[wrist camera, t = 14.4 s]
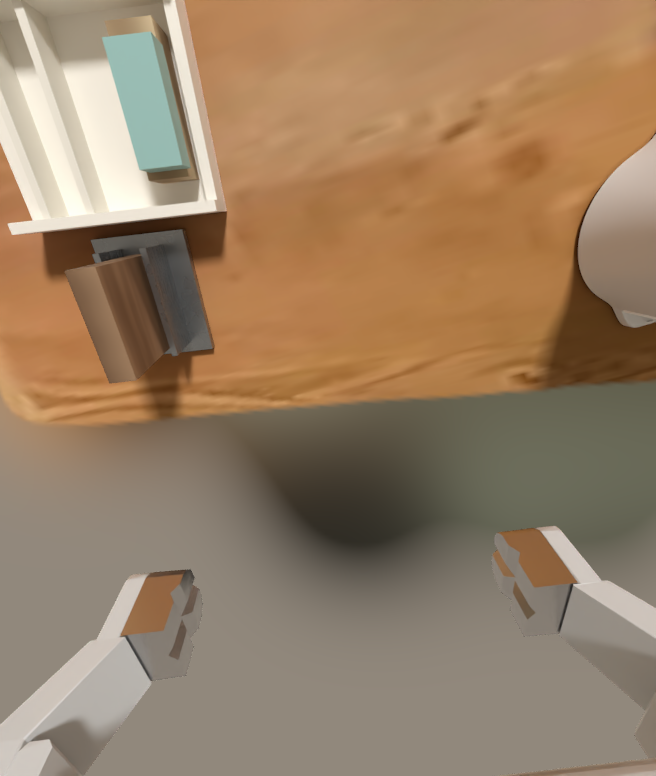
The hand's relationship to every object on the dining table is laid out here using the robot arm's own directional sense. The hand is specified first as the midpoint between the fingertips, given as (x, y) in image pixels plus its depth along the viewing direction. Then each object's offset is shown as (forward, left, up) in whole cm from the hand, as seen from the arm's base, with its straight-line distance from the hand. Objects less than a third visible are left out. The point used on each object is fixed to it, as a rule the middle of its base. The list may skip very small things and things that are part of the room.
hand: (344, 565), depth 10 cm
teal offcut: (+10, -16, -25) cm, 31 cm away
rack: (+15, -16, -29) cm, 37 cm away
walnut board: (+15, -3, -28) cm, 32 cm away
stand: (+15, -3, -29) cm, 33 cm away
